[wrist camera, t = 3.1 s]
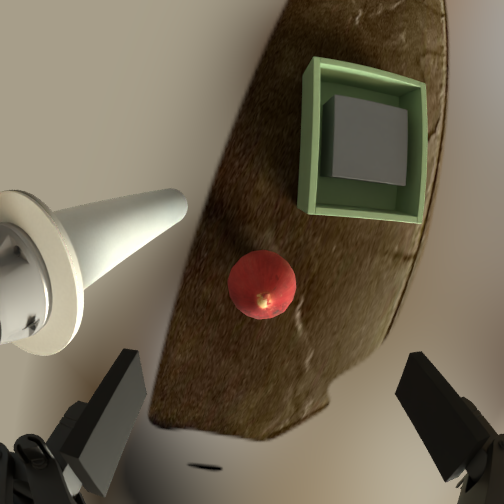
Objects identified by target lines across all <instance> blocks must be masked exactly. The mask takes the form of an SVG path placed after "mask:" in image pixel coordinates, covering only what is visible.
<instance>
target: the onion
mask: <svg viewBox="0 0 504 504" xmlns="http://www.w3.org/2000/svg"><path fill="white" fill-rule="evenodd" d="M228 288H229V294H230V297H231V299H232V301H233V302H234V304H235V306H236V307H237V308H238V309H239V310H240V311H241V312H243V313H244V314H245V315H247V316H250V317H253V318H256V319H266V318H272V317H274V316H276V315H279V314H281V313H283V312H284V311H285V310H286V308H287V307H288V306H289V304H290V303H291V302H292V300H293V297H294V293H295V290H296V282H295V275H294V272H293V270H292V268H291V267H290V265H289V263H288V262H287V261H286V260H285V259H283V258H282V257H281V256H280V255H278V254H277V253H274V252H271V251H267V250H258V251H252V252H250V253H248V254H246V255H244V256H243V257H241V258H240V259H239V261H238V262H237V263H236V264H235V265H234V266H233V268H232V269H231V272H230V275H229V278H228Z"/></svg>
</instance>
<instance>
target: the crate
mask: <svg viewBox="0 0 504 504" xmlns="http://www.w3.org/2000/svg"><path fill="white" fill-rule="evenodd" d="M335 94H336V95H342V96H348V97H353V98H358V99H363V100H368V101H373V102H377V103H382V104H386V105H390V106H394V107H398V108H402V109H406V110H407V117H408V142H407V171H406V185H405V186H399V185H388V184H380V183H373V182H365V181H357V180H349V179H340V178H330V177H321V176H320V167H321V146H322V116H323V104H325V103H326V102H327V101H328V100H329V99H330V98H331V97H332V96H333V95H335ZM426 171H427V102H426V86H425V83H422V82H419V81H417V80H413V79H410V78H407V77H404V76H401V75H397V74H394V73H390V72H387V71H383V70H379V69H375V68H371V67H367V66H363V65H358V64H354V63H349V62H344V61H339V60H333V59H327V58H320V57H313V58H312V60H311V62H310V63H309V65H308V67H307V68H306V70H305V72H304V74H303V76H302V117H301V143H300V164H299V183H298V199H297V208H299V209H301V210H302V211H304V212H306V213H307V214H315V215H330V216H343V217H355V218H367V219H378V220H389V221H399V222H409V223H418V224H422V218H423V209H424V199H425V187H426Z"/></svg>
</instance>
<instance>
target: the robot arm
mask: <svg viewBox="0 0 504 504" xmlns="http://www.w3.org/2000/svg"><path fill="white" fill-rule="evenodd" d="M52 303H53V296H52V286H51V281H50V277H49V273H48V270H47V267H46V264H45V262H44V259H43V257H42V255H41V253H40V251H39V249H38V248H37V246H36V244H35V243H34V241H33V240H32V239H31V237H30V236H29V235H28V234H27V233H26V232H25V231H24V230H23V229H22V228H20V227H19V226H17V225H15V224H13V223H10V222H0V345H1V344H5V343H8V342H13V341H16V340H20V339H24V338H28V337H30V336H32V335H34V334H36V333H37V332H38V331H40V330H41V329H42V328H43V327H44V326H45V325H46V324H47V322H48V320H49V318H50V315H51V311H52ZM146 394H147V393H146V388H145V384H144V379H143V374H142V368H141V363H140V357H139V352H138V350H130V349H123V350H122V352H121V353H120V355H119V356H118V358H117V359H116V361H115V362H114V364H113V365H112V367H111V368H110V370H109V371H108V373H107V374H106V376H105V377H104V379H103V380H102V382H101V384H100V385H99V387H98V388H97V390H96V391H95V393H94V394H93V396H92V398H91V399H90V401H89V402H88V403H84V402H81V401H77V402H76V403H75V404H73V405H72V406H71V407H69V408H68V410H67V411H66V413H65V414H64V417H62V419H61V420H60V423H59V424H58V425H57V426H56V428H55V430H54V431H53V433H52V434H51V436H50V438H49V439H48V441H47V442H46V443H45V442H44V440H43V439H42V438H41V437H39V436H38V435H34V434H26V435H23V436H21V437H19V438H18V439H17V440H16V442H15V444H14V451H15V453H14V452H9V450H8V449H7V448H6V446H5V445H4V444H2V443H0V504H86V503H85V501H84V499H83V497H82V494H81V493H80V491H79V490H80V488H81V486H82V485H83V486H84V488H85V489H86V490H87V491H88V492H91V493H94V494H96V495H99V496H102V497H105V496H106V494H107V491H108V488H109V485H110V483H111V480H112V478H113V475H114V472H115V470H116V467H117V464H118V462H119V460H120V457H121V455H122V452H123V450H124V447H125V445H126V442H127V440H128V437H129V435H130V432H131V430H132V428H133V425H134V423H135V420H136V418H137V416H138V413H139V411H140V409H141V406H142V404H143V401H144V399H145V397H146ZM395 395H396V396H397V398H398V400H399V401H400V403H401V405H402V407H403V408H404V410H405V412H406V413H407V415H408V417H409V418H410V420H411V422H412V423H413V425H414V427H415V429H416V430H417V432H418V434H419V436H420V438H421V439H422V441H423V443H424V445H425V446H426V448H427V450H428V452H429V453H430V455H431V457H432V459H433V461H434V463H435V464H436V466H437V468H438V470H439V472H440V474H441V476H442V478H443V479H444V481H445V482H448V481H450V480H453V479H454V478H457V477H459V475H460V474H461V473H462V472H463V471H464V470H465V469H466V470H467V474H466V475H465V476H464V477H463V479H462V480H461V481H460V482H459V483H458V484H457V486H456V488H458V487H459V486H460V485H461V484H462V483H463V485H462V487H461V492H460V496H459V500H458V503H457V504H504V434H500V435H498V434H497V433H496V432H495V430H494V429H493V428H492V426H491V425H490V424H489V423H488V422H487V420H486V419H485V418H484V416H482V415H481V413H480V411H479V410H477V408H476V407H475V405H474V404H473V403H472V402H471V401H469V400H468V399H466V398H465V397H460V396H459V395H458V394H457V392H455V390H454V389H453V388H452V387H451V385H450V384H449V383H448V382H447V381H446V379H445V378H444V377H443V376H442V374H441V373H440V372H439V371H438V370H437V369H436V367H435V366H434V365H433V364H432V363H431V362H430V361H429V359H427V357H426V356H425V355H424V354H423V353H422V351H421V352H413V353H410V354H409V357H408V360H407V363H406V366H405V368H404V371H403V374H402V377H401V379H400V382H399V385H398V387H397V390H396V393H395Z"/></svg>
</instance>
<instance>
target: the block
mask: <svg viewBox="0 0 504 504" xmlns="http://www.w3.org/2000/svg"><path fill="white" fill-rule="evenodd" d="M407 142H408V117H407V110H406V109H402V108H398V107H394V106H390V105H386V104H382V103H377V102H373V101H368V100H363V99H358V98H353V97H348V96H342V95H336V94H335V95H333V96H332V97H331V98H330V99H329V100H328V101H327V102H326V103H325V104H323V116H322V146H321V167H320V176H321V177H330V178H340V179H349V180H357V181H365V182H373V183H380V184H388V185H399V186H405V185H406V171H407Z"/></svg>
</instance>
